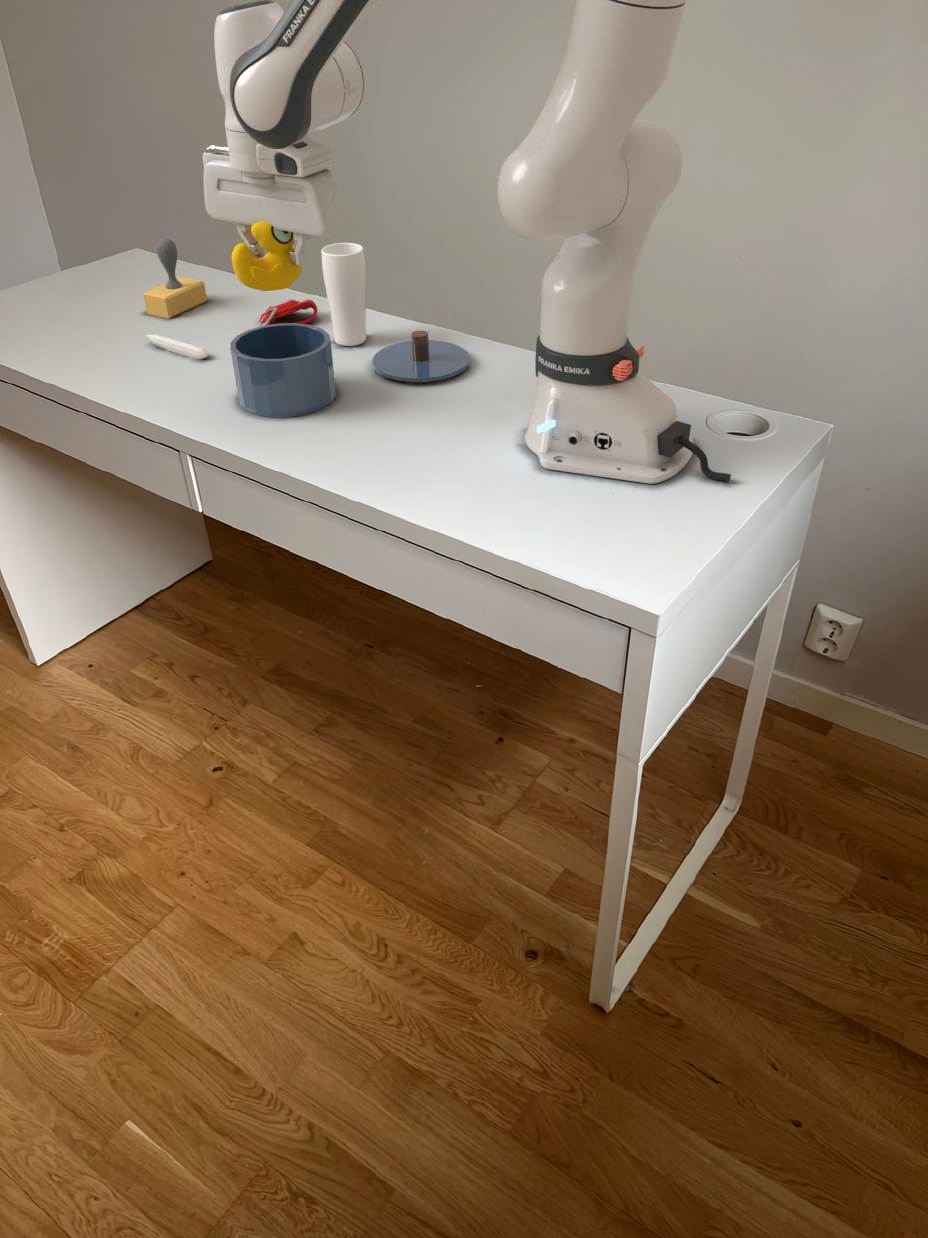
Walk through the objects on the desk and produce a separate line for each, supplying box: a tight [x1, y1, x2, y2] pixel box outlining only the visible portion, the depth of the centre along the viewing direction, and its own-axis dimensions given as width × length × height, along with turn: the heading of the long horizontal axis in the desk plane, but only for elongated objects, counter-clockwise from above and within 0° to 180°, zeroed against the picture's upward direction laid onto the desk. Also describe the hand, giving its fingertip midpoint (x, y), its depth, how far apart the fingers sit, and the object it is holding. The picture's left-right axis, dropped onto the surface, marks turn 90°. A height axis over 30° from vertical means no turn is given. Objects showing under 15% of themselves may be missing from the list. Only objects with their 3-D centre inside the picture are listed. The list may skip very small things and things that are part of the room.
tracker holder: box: [257, 298, 318, 327], centre depth 173 cm, size 12×4×10 cm
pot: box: [229, 322, 337, 418], centre depth 148 cm, size 14×14×8 cm
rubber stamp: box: [143, 237, 208, 320], centre depth 178 cm, size 10×6×12 cm, turn 150°
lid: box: [371, 330, 471, 383], centre depth 157 cm, size 15×15×5 cm
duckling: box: [231, 221, 303, 292], centre depth 135 cm, size 11×5×10 cm, turn 113°
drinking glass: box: [320, 242, 367, 347], centre depth 163 cm, size 7×7×15 cm
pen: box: [146, 333, 209, 360], centre depth 165 cm, size 2×14×2 cm, turn 56°
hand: (278, 260), depth 137 cm, fingers closed on duckling, 6 cm apart
